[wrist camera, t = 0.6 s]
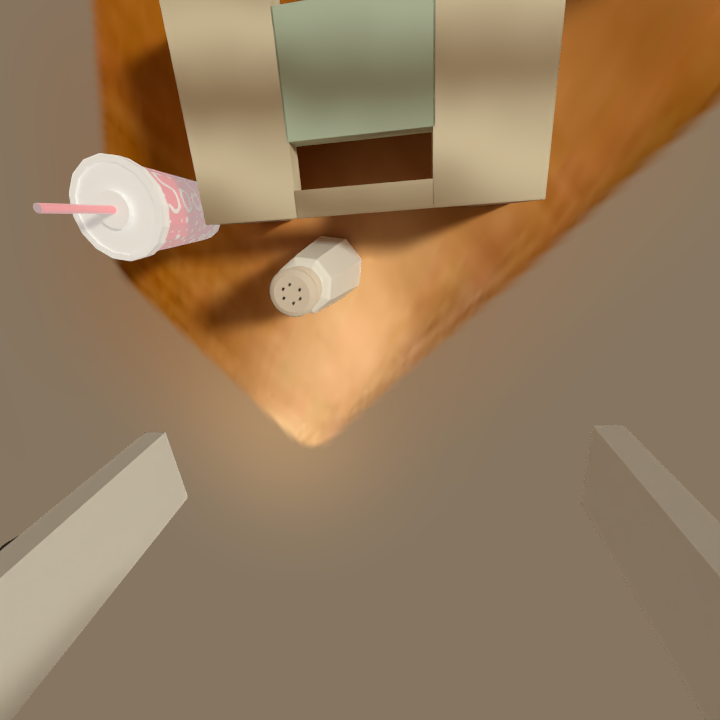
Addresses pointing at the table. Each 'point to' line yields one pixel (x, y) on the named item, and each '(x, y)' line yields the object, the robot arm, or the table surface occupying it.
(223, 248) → the table surface
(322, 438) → the table surface
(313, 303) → the pepper shaker
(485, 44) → the cut-out shelf
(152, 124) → the table surface
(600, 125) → the table surface
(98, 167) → the beverage cup
